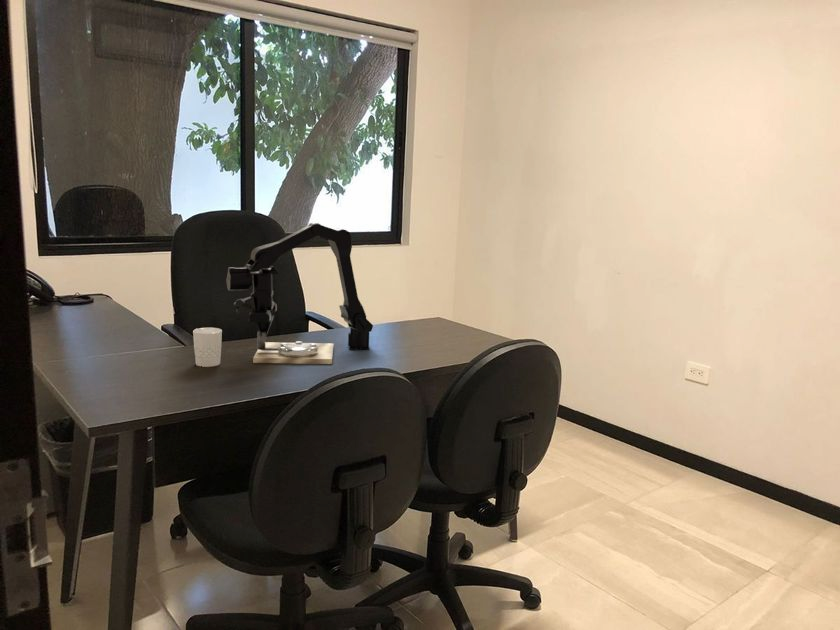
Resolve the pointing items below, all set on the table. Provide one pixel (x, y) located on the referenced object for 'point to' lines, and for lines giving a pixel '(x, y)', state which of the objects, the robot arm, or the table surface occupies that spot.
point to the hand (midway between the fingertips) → (263, 338)
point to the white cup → (207, 346)
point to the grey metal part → (288, 347)
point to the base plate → (273, 357)
